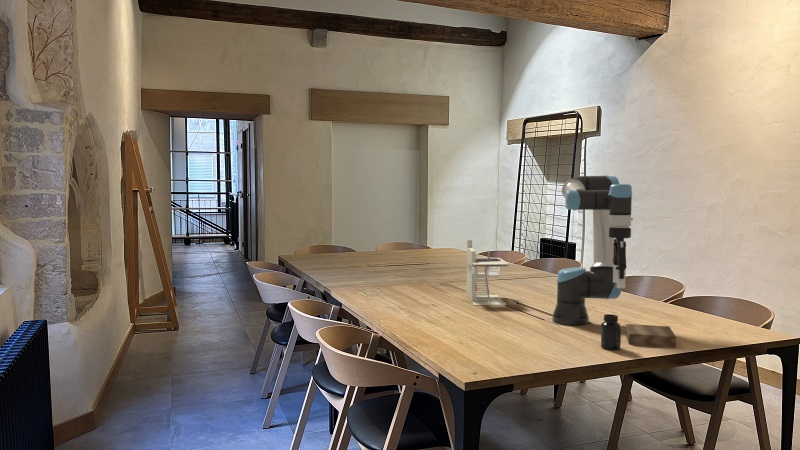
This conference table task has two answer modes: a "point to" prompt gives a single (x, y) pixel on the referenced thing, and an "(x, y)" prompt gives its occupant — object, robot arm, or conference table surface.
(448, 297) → the conference table surface
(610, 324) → the supplement bottle
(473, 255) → the white ladder tower
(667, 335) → the walnut base
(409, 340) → the conference table surface
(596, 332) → the conference table surface
